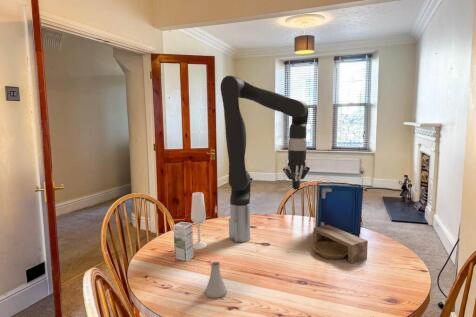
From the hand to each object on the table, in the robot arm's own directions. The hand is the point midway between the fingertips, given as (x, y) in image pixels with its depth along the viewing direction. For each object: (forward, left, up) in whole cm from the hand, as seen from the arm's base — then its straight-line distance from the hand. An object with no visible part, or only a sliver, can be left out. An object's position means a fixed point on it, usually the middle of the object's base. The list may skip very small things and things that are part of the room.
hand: (295, 189), depth 133 cm
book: (+29, +3, -26) cm, 39 cm away
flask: (-45, -16, -27) cm, 54 cm away
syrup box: (-46, +14, -26) cm, 55 cm away
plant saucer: (+10, -12, -27) cm, 31 cm away
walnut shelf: (+14, -12, -26) cm, 32 cm away
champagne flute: (-36, +23, -26) cm, 50 cm away
